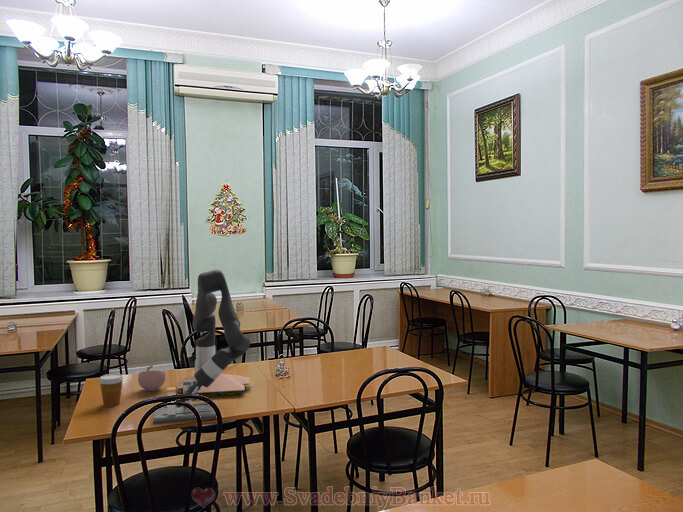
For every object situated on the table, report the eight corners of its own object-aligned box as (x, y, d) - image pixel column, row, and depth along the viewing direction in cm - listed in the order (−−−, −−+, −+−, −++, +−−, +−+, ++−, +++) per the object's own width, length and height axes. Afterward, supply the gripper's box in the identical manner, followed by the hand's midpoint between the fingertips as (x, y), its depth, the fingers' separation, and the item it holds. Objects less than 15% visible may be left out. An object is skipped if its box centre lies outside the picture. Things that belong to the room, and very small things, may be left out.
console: (153, 423, 194) (153, 418, 194) (157, 410, 209) (157, 405, 209) (217, 418, 200) (217, 412, 200) (217, 405, 215) (217, 400, 215)
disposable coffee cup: (99, 409, 210) (99, 380, 209) (98, 402, 218) (98, 375, 218) (124, 406, 214) (124, 377, 214) (123, 399, 223) (122, 372, 222)
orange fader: (176, 414, 201) (175, 387, 200) (175, 417, 198) (175, 389, 197) (168, 415, 200) (167, 387, 200) (167, 417, 197) (167, 389, 197)
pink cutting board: (250, 396, 229) (250, 378, 228) (174, 401, 222) (174, 382, 222) (249, 382, 251) (249, 365, 251) (180, 386, 244) (179, 369, 244)
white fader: (191, 406, 211) (191, 379, 210) (191, 408, 208) (190, 381, 207) (183, 406, 210) (183, 380, 210) (183, 409, 207) (183, 382, 207)
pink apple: (166, 385, 244) (165, 361, 243) (165, 392, 232) (165, 368, 232) (139, 387, 240) (138, 363, 240) (137, 395, 229) (136, 370, 228)
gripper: (216, 383, 196) (183, 417, 193) (215, 374, 209) (185, 406, 206) (201, 370, 195) (168, 404, 192) (202, 362, 207) (171, 394, 205)
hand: (177, 405), depth 199 cm, fingers closed
